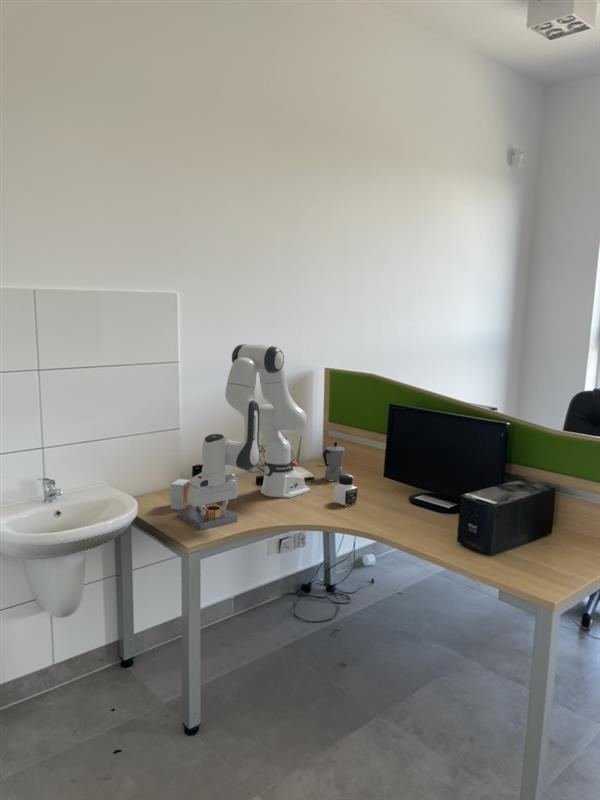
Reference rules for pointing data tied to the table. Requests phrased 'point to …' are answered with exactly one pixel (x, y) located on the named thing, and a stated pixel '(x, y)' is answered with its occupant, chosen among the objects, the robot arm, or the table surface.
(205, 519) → the block
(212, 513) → the ring
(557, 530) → the table surface
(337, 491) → the medicine bottle
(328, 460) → the coffeepot
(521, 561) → the table surface
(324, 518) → the table surface
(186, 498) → the small box
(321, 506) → the table surface
